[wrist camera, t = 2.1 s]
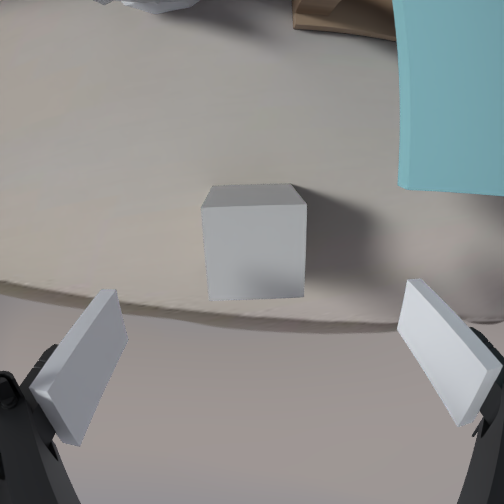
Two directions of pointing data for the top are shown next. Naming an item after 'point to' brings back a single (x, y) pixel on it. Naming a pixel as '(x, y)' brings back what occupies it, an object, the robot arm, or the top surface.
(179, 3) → the crystal
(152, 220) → the top surface
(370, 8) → the stand
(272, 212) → the plain grey cube
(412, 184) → the trapdoor
